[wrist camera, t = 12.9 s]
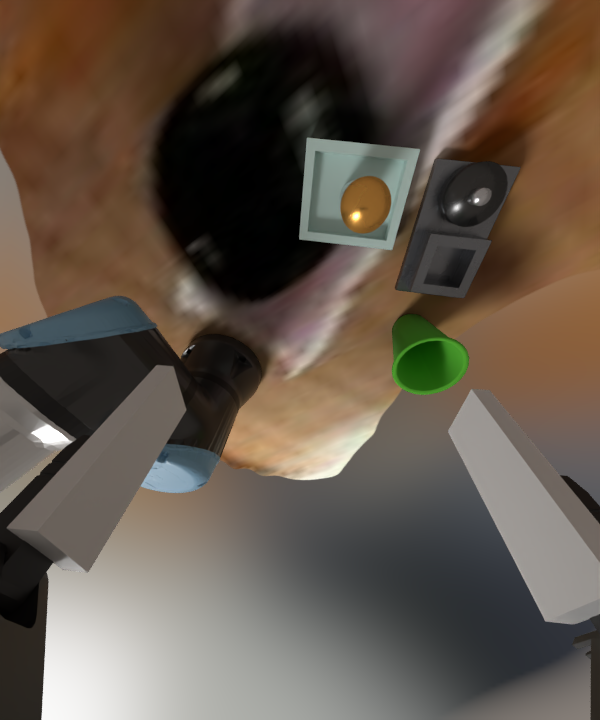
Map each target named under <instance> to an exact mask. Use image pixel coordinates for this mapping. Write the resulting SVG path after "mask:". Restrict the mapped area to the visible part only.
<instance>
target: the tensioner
mask: <svg viewBox="0 0 600 720" xmlns="http://www.w3.org/2000/svg"><path fill="white" fill-rule="evenodd" d="M520 168H521V167H513V166H504V165H499V164H497V163H494V162H478V163H474V162H465V161H455V160H445V159H435V160H434V163H433V167H432V170H431V173H430V176H429V179H428V183H427V186H426V189H425V192H424V196H423V199H422V202H421V205H420V208H419V212H418V215H417V218H416V221H415V224H414V228H413V231H412V234H411V237H410V241H409V244H408V247H407V250H406V253H405V257H404V260H403V263H402V266H401V270H400V273H399V276H398V279H397V282H396V286H395V289H396V290H399V291H407V292H415V293H424V294H432V295H440V296H448V297H457V298H464V297H465V295H466V293H467V291H468V289H469V287H470V285H471V283H472V281H473V279H474V277H475V275H476V272H477V270H478V268H479V266H480V264H481V262H482V260H483V258H484V256H485V254H486V252H487V250H488V248H489V246H490V244H491V240H489V239H487V238H488V236H489V234H490V231H491V229H492V227H493V225H494V223H495V221H496V219H497V217H498V214H499V212H500V210H501V208H502V206H503V204H504V202H505V200H506V197H507V195H508V193H509V191H510V189H511V187H512V185H513V183H514V181H515V178H516V176H517V174H518V172H519V170H520Z"/></svg>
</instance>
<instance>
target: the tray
mask: <svg viewBox="0 0 600 720" xmlns="http://www.w3.org/2000/svg"><path fill="white" fill-rule="evenodd" d="M419 152H420V149H414V148H404V147H394V146H384V145H375V144H365V143H355V142H345V141H335V140H326V139H316V138H307V144H306V157H305V170H304V183H303V195H302V208H301V221H300V234H299V239H301V240H309V241H318V242H326V243H335V244H344V245H352V246H361V247H369V248H378V249H387V250H392V249H393V245H394V242H395V238H396V234H397V231H398V227H399V224H400V220H401V217H402V213H403V209H404V206H405V202H406V199H407V195H408V192H409V188H410V184H411V181H412V177H413V174H414V170H415V167H416V163H417V159H418V156H419ZM364 176H374V177H377V178H380V179H381V180H382V181H384V182H385V183H386V185H387V186H388V188H389V190H390V194H391V208H390V212H389V214H388V217H387V218H386V220H385V221H384V223H383V224H382V225H381V226H380V227H379V228H377V229H376V230H374V231H372V232H369V233H364V234H361V233H356V232H353V231H352V230H350V229H349V228H348V227H347V226H346V225H345V223H344V222H343V219H342V216H341V211H340V199H339V197H340V192H341V190H342V188H343V187H344V185H345V184H346V183H348V182H349V181H352V180H356V179H358V178H360V177H364Z"/></svg>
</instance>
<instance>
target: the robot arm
mask: <svg viewBox="0 0 600 720" xmlns="http://www.w3.org/2000/svg"><path fill="white" fill-rule="evenodd" d="M156 327H157V325H156V324H155V323H153V322H152V321H151V320H150V319H149V318H148V317H147V315H146V314H145V313H144V312H143V311H142V309H141V308H140V307H139V306H138V305H137V304H136V303H135V302H134V301H133V300H131V299H130V298H127V297H124V296H113V297H109V298H106V299H103V300H100V301H97V302H94V303H91V304H88V305H85V306H82V307H79V308H76V309H73V310H70V311H67V312H64V313H61V314H58V315H55V316H52V317H49V318H46V319H43V320H40V321H37V322H34V323H31V324H28V325H25V326H22V327H19V328H16V329H13V330H10V331H7V332H4V333H1V334H0V347H1V348H3V349H8V350H6V351H5V352H3V353H1V354H0V492H2V491H3V490H4V489H6V488H7V487H8V486H10V485H11V484H12V483H14V482H15V481H16V480H18V479H19V478H20V477H22V476H23V475H25V474H26V473H27V472H29V471H30V470H31V469H33V468H34V467H35V466H37V465H38V464H39V463H41V462H42V461H43V460H45V459H46V458H48V457H49V456H50V455H52V454H53V453H54V452H56V451H59V450H62V449H63V450H62V451H61V452H60V453H59V454H58V455H57V456H56V457H55V458H54V459H53V460H52V463H50V464H48V465H47V466H46V467H45V468H44V469H43V470H42V471H41V473H40V475H39V476H36V477H35V478H34V479H33V481H31V482H30V483H29V484H28V485H27V486H26V488H25V489H24V490H23V491H22V492H21V493H20V494H19V495H18V496H17V497H16V498H15V499H14V500H13V501H12V502H11V503H10V504H9V505H8V506H7V507H6V508H5V509H4V510H3V511H2V512H1V513H0V720H41V715H42V696H43V676H44V656H45V638H46V618H47V599H48V576H47V573H46V572H47V570H48V569H49V567H50V566H51V565H52V563H54V564H56V565H57V566H58V567H60V568H61V569H63V570H70V571H79V572H89V570H90V568H91V567H92V565H93V563H94V562H95V560H96V559H97V557H98V555H99V554H100V552H101V550H102V548H103V547H104V545H105V543H106V542H107V540H108V539H109V537H110V535H111V534H112V532H113V530H114V529H115V527H116V525H117V524H118V522H119V521H120V519H121V517H122V516H123V514H124V512H125V511H126V509H127V507H128V506H129V504H130V502H131V501H132V499H133V497H134V496H135V494H136V492H137V491H138V489H139V488H140V486H141V487H144V488H147V489H151V490H156V491H161V492H170V493H184V492H190V491H194V490H197V489H199V488H201V487H202V486H204V485H205V484H206V483H207V481H208V480H209V479H210V477H211V475H212V473H213V471H214V469H215V467H216V465H217V464H218V462H219V461H220V457H221V454H222V452H223V449H224V447H225V444H226V441H227V439H228V436H229V434H230V431H231V429H232V426H233V423H234V421H235V418H236V416H237V413H238V411H239V409H240V408H241V407H242V406H243V405H244V404H245V403H246V402H247V401H248V400H249V399H250V398H251V397H252V396H253V395H254V393H255V392H256V390H257V388H258V386H259V383H260V380H261V375H262V371H261V366H260V363H259V361H258V359H257V357H256V356H255V354H254V353H253V352H252V351H251V350H250V349H249V348H248V347H247V346H246V345H244V344H243V343H241V342H239V341H238V340H236V339H233V338H231V337H228V336H224V335H217V334H211V335H204V336H201V337H199V338H197V339H195V340H194V341H193V342H191V344H190V345H189V346H188V347H187V348H186V349H185V351H184V352H183V354H182V356H181V360H180V358H179V357H178V356H177V354H176V353H175V352H174V350H173V349H172V348H171V346H170V345H169V344H168V342H167V341H166V340H165V338H164V337H163V336H162V334H161V333H160V332H159V330H158V329H157V328H156ZM448 432H449V435H450V436H451V438H452V440H453V442H454V444H455V446H456V448H457V450H458V452H459V454H460V456H461V458H462V460H463V462H464V464H465V466H466V468H467V470H468V471H469V473H470V475H471V477H472V479H473V481H474V483H475V485H476V487H477V489H478V491H479V493H480V495H481V497H482V498H483V500H484V503H485V505H486V506H487V508H488V510H489V512H490V514H491V516H492V518H493V520H494V522H495V524H496V526H497V528H498V530H499V532H500V534H501V536H502V538H503V539H504V541H505V543H506V545H507V547H508V549H509V551H510V553H511V555H512V557H513V559H514V561H515V563H516V565H517V567H518V569H519V571H520V572H521V574H522V576H523V578H524V580H525V582H526V584H527V586H528V588H529V590H530V592H531V594H532V596H533V598H534V600H535V602H536V603H537V606H538V608H539V610H540V611H541V613H542V615H543V617H544V619H545V621H548V622H556V623H566V624H577V623H579V622H582V621H585V620H587V619H590V620H591V621H592V623H593V624H594V626H595V628H596V629H597V630H596V631H593V632H590V633H587V634H584V635H581V636H578V637H575V639H574V641H573V646H575V647H576V648H577V649H579V648H583V647H586V646H590V645H591V651H589V652H587V653H586V656H587V657H589V658H590V659H591V720H600V506H599V505H598V504H597V503H596V502H595V501H594V499H593V498H592V497H591V496H590V495H589V493H588V492H587V491H585V490H584V489H583V488H582V487H580V486H579V485H578V484H577V483H576V482H574V481H573V480H572V479H571V478H569V477H568V476H561V475H559V474H558V473H557V472H556V470H555V469H554V468H553V467H552V466H551V464H550V463H549V462H548V461H547V459H546V458H545V457H544V456H543V455H542V453H541V452H540V451H539V450H538V448H537V447H536V446H535V445H534V444H533V442H532V441H531V440H530V439H529V437H528V436H527V435H526V434H525V433H524V432H523V430H522V429H521V428H520V427H519V425H518V424H517V423H516V422H515V420H514V419H513V418H512V417H511V416H510V414H509V413H508V412H507V411H506V410H505V408H504V407H503V406H502V405H501V403H500V402H499V401H498V400H497V399H496V397H495V396H494V395H493V394H492V393H491V391H490V390H478V389H471V391H470V393H469V395H468V396H467V398H466V400H465V402H464V404H463V405H462V407H461V409H460V411H459V413H458V415H457V416H456V418H455V420H454V422H453V423H452V426H451V427H450V429H449V431H448Z"/></svg>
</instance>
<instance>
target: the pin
mask: <svg viewBox="0 0 600 720" xmlns="http://www.w3.org/2000/svg"><path fill="white" fill-rule="evenodd" d="M339 199H340V211H341V216H342V219H343V222H344V223H345V225H346V226H347V227H348V228H349V229H350V230H352V231H353V232H356V233H361V234H364V233H369V232H372V231H374V230H376V229H377V228H379V227H380V226H381V225H382V224H383V223H384V221H385V220H386V218H387V217H388V214H389V212H390V208H391V194H390V190H389V188H388V186H387V185H386V183H385V182H384V181H382V180H381V179H380V178H377V177H374V176H364V177H360V178H358V179H356V180H352V181H349V182H348V183H346V184H345V185H344V187H343V188H342V190H341V192H340V197H339Z"/></svg>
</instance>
